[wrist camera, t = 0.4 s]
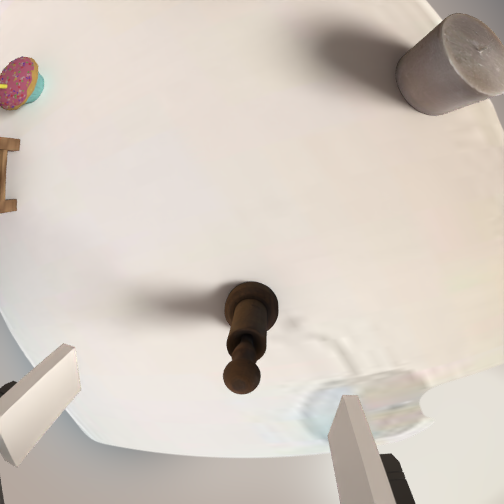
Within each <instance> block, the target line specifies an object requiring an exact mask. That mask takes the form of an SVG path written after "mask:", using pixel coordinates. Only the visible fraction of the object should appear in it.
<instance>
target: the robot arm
mask: <svg viewBox="0 0 504 504" xmlns="http://www.w3.org/2000/svg"><path fill="white" fill-rule="evenodd" d="M80 391H81V385H80V379H79V372H78V365H77V358H76V350H75V347H73V346H70V345H67V344H64V343H63V344H62V345H61V346H60V347H58V348H57V349H56V350H55V351H54V352H52V353H51V354H50V355H49V356H48V357H46V358H45V359H44V360H43V361H42V362H41V363H39V364H38V365H37V366H36V367H35V368H34V369H33V370H31V371H30V372H29V373H28V374H27V375H26V376H25V377H23V378H22V379H21V380H20V381H19V382H18V383H17V382H15V381H12V382H10V383H7V384H5V385H4V386H2V387H1V388H0V452H1V454H2V456H3V458H4V460H5V461H7V462H9V463H10V464H12V465H13V466H15V467H18V466H19V464H20V463H21V462H22V461H23V459H24V458H25V457H26V456H27V454H28V453H29V452H30V451H31V450H32V448H33V447H34V446H35V445H36V443H37V442H38V441H39V440H40V438H41V437H42V436H43V435H44V434H45V432H46V431H47V430H48V429H49V428H50V426H51V425H52V424H53V423H54V421H55V420H56V419H57V418H58V417H59V416H60V414H61V413H62V412H63V411H64V410H65V408H66V407H67V406H68V405H69V404H70V403H71V401H72V400H73V399H74V398H75V397H76V396H77V394H78V393H79V392H80ZM328 440H329V445H330V450H331V456H332V460H333V466H334V471H335V477H336V482H337V487H338V493H339V499H340V504H415V501H414V499H413V496H412V494H411V491H410V488H409V486H408V483H407V481H406V479H405V475H404V473H403V472H402V468H401V465H400V463H399V461H398V460H397V459H396V458H395V457H394V456H393V455H392V454H379V452H378V449H377V446H376V444H375V441H374V438H373V435H372V432H371V430H370V427H369V424H368V422H367V419H366V416H365V413H364V411H363V408H362V405H361V403H360V400H359V398H358V395H342V398H341V401H340V404H339V406H338V409H337V412H336V415H335V418H334V420H333V423H332V426H331V428H330V431H329V433H328ZM0 504H4V499H3V493H2V486H1V479H0Z"/></svg>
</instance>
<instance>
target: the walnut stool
mask: <svg viewBox="0 0 504 504" xmlns="http://www.w3.org/2000/svg"><path fill="white" fill-rule="evenodd" d="M19 148H20V139H13V138H4V137H0V213H5V212H11V211H17V199H9V200H5V184H6V165H7V152H8V151H19Z"/></svg>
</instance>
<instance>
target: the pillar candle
mask: <svg viewBox="0 0 504 504" xmlns="http://www.w3.org/2000/svg"><path fill="white" fill-rule="evenodd" d="M396 80H397V84H398V87H399V89H400V92H401V94H402V95H403V97H404V98H405V99H406V101H407V102H408V103H409V104H410V105H411V106H412V107H413V108H415V109H416V110H418V111H420V112H422V113H425V114H428V115H435V116H437V115H443V114H446V113H448V112H452V111H454V110H457V109H460V108H463V107H465V106H468V105H471V104H474V103H478V102H480V101H483V100H486V99H488V98H491V97H494V96H498V95H500V94H504V46H503V44H502V43H501V41H500V40H499V39H498V37H497V36H496V35H495V33H494V32H493V31H492V30H491V29H490V28H489V27H488V26H487V25H485V24H484V23H483V22H482V21H480V20H478V19H477V18H474V17H472V16H469V15H467V14H461V13H455V14H452V15H450V16H448V17H447V18H445V19H444V20H443V21H442V22H441V23H440V24H439V25H437V26H436V27H435V28H434V29H433V30H432V31H431V32H430V33H429V34H427V35H426V36H425V37H424V38H423V39H422V40H421V41H419V42H418V43H417V44H416V45H415V46H414V47H413V48H412V49H411V50H409V51H408V52H407V53H406V54H405V55H404V56H403V57H402V58H401V59H400V61H399V63H398V65H397V68H396Z"/></svg>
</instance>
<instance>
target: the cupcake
mask: <svg viewBox="0 0 504 504" xmlns="http://www.w3.org/2000/svg"><path fill="white" fill-rule="evenodd" d="M43 87H44V79H43V77H42V76H41V75H40V74H39V72H38V65H37V63H36V62H35V60H34V59H32V58H28V57H23V56H22V57H20V58H17V59H15V60H14V61H12V62H10V63H9V65H7V67H5V68H4V69H3V71H2V73H1V75H0V106H1V107H2V108H3V109H6V110H16V109H18V108H19V107H20V106H22V105H23V104H25V103H31V102H34V101H35V100H36V99H37V98H38V97H39V96H40V94H41V93H42V90H43Z"/></svg>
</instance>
